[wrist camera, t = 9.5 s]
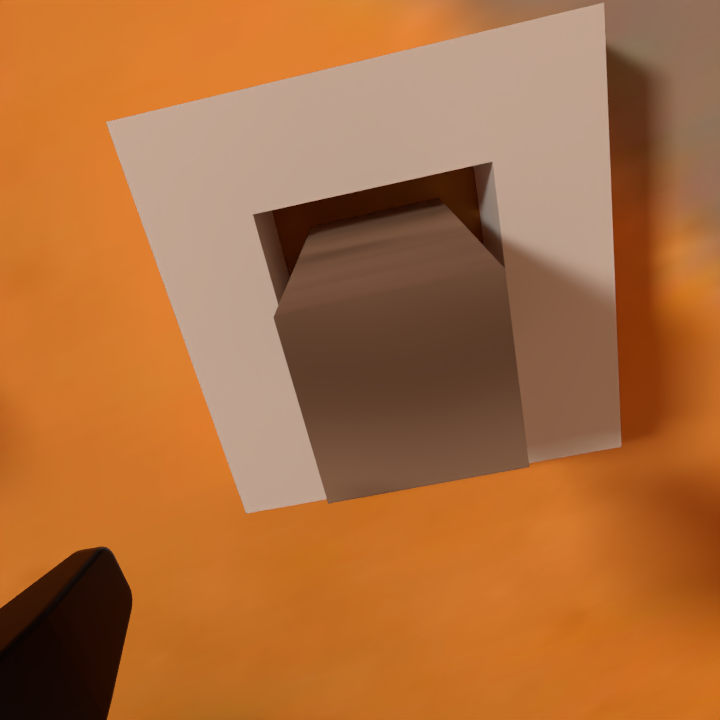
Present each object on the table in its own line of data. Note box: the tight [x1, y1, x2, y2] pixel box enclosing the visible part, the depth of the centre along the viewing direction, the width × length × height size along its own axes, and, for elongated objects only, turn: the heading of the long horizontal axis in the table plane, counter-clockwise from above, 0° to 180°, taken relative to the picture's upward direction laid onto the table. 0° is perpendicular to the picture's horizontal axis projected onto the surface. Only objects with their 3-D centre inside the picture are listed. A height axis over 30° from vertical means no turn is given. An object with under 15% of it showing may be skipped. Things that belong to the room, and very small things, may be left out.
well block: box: [106, 3, 622, 513], centre depth 18 cm, size 12×12×3 cm
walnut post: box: [273, 198, 529, 503], centre depth 15 cm, size 4×4×9 cm
